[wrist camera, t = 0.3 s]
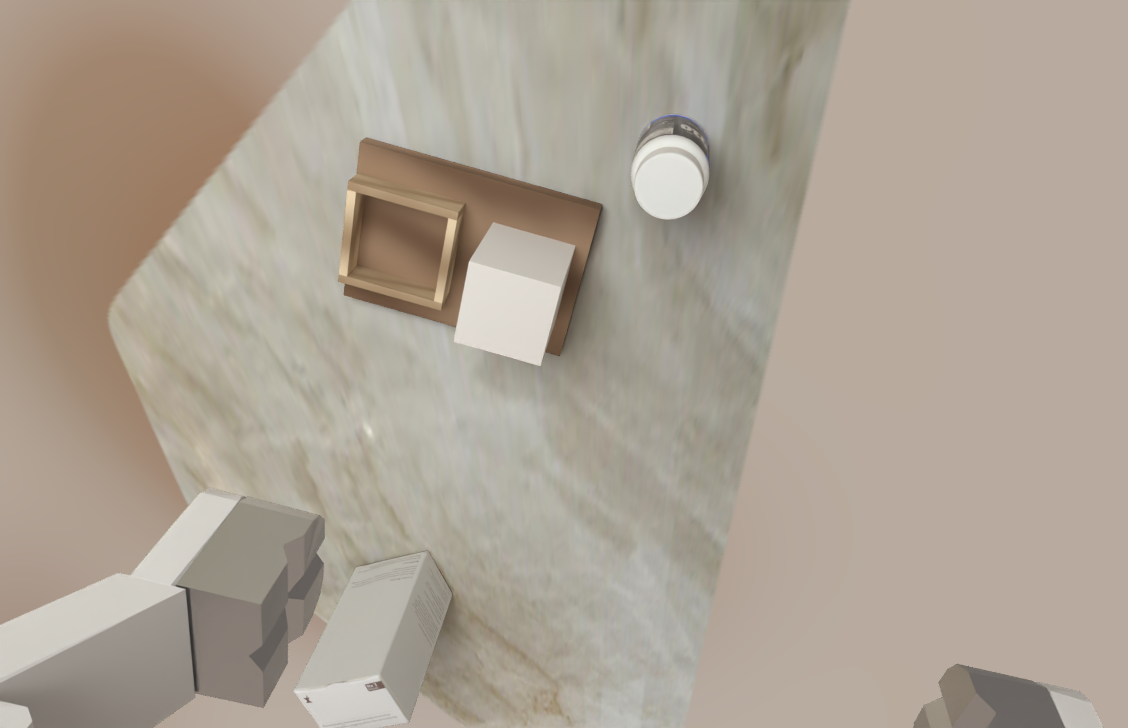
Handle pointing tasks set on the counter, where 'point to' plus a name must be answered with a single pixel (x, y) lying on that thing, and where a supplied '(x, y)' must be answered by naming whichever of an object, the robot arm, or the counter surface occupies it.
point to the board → (445, 230)
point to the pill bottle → (670, 166)
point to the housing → (513, 293)
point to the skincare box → (377, 645)
